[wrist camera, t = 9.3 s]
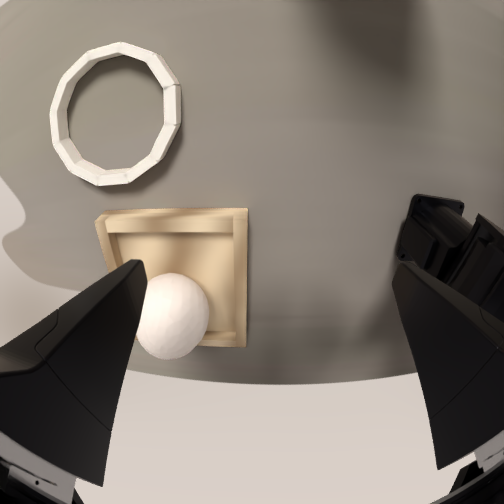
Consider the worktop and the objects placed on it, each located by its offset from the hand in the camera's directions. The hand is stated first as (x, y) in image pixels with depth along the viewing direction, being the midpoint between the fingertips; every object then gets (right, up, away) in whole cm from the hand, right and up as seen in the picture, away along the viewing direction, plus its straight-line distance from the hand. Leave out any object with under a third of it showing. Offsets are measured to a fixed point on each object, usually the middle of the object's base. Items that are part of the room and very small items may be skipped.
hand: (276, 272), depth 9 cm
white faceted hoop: (-11, +11, +7) cm, 17 cm away
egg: (-7, -2, +15) cm, 17 cm away
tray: (-7, -2, +15) cm, 17 cm away
